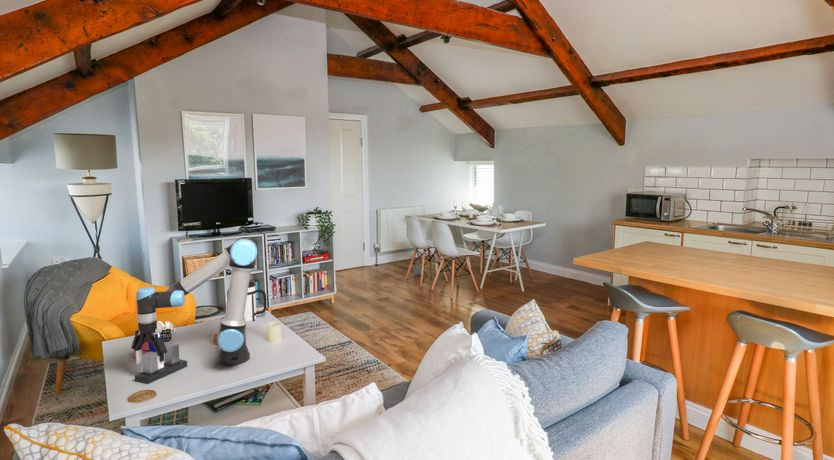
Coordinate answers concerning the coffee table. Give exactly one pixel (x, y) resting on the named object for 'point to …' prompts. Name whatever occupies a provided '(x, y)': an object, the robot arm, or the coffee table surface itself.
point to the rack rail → (160, 372)
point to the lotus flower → (164, 326)
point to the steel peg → (149, 363)
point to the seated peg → (172, 354)
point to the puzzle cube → (147, 348)
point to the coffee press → (253, 302)
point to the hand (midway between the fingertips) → (150, 365)
